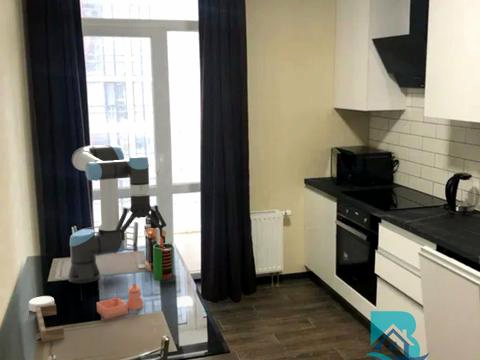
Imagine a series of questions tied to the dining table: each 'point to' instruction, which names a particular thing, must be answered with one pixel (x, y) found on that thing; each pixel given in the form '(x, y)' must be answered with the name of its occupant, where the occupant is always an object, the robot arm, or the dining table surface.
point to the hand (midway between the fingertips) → (142, 246)
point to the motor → (162, 260)
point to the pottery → (120, 304)
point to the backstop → (45, 333)
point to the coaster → (40, 302)
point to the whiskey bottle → (151, 241)
